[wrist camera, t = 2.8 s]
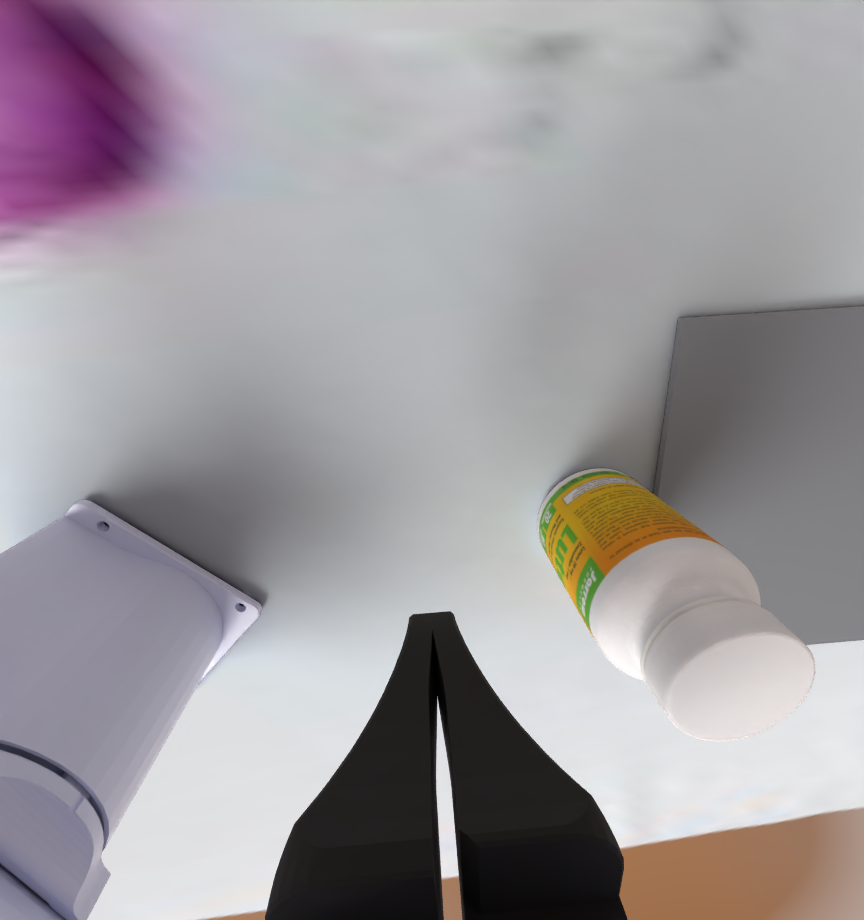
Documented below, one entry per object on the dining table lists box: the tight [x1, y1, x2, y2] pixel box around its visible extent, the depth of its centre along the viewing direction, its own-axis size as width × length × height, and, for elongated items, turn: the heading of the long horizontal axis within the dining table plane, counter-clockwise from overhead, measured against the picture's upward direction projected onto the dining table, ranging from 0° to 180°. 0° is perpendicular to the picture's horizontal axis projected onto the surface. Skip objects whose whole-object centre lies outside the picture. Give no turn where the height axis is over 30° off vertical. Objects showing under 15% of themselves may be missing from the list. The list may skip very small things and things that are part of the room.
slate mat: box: [653, 306, 864, 645], centre depth 20 cm, size 16×18×1 cm
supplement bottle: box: [537, 468, 815, 741], centre depth 15 cm, size 5×5×10 cm
